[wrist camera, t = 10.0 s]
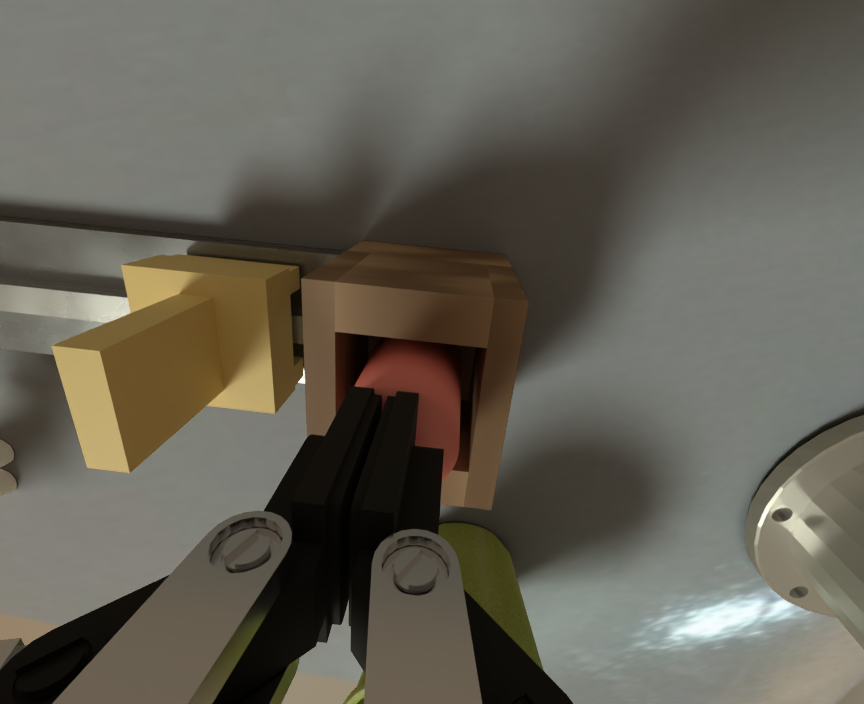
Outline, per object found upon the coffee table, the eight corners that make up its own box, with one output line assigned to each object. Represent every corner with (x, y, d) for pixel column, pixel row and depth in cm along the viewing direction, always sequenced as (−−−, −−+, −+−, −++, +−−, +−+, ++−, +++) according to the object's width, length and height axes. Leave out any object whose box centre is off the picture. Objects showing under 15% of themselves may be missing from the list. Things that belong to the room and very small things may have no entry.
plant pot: (561, 511, 22) (613, 700, 14) (521, 627, 26) (544, 827, 18) (387, 482, 22) (342, 652, 14) (372, 601, 26) (330, 788, 18)
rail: (350, 251, 18) (319, 271, 14) (349, 378, 20) (323, 423, 16) (-75, 208, 18) (-211, 216, 15) (-28, 335, 21) (-135, 369, 17)
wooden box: (506, 255, 17) (529, 301, 11) (483, 402, 20) (491, 510, 14) (362, 240, 17) (301, 278, 11) (359, 388, 20) (308, 488, 14)
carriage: (298, 262, 17) (171, 327, 10) (303, 378, 19) (201, 504, 12) (177, 250, 17) (-37, 305, 10) (195, 366, 19) (28, 482, 12)
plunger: (466, 325, 14) (466, 395, 10) (456, 406, 16) (452, 501, 11) (375, 316, 15) (332, 380, 10) (372, 396, 16) (333, 486, 11)
